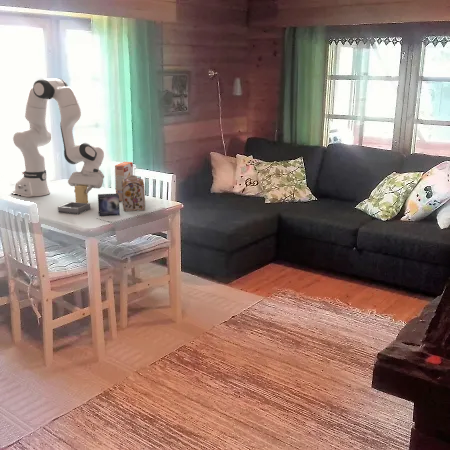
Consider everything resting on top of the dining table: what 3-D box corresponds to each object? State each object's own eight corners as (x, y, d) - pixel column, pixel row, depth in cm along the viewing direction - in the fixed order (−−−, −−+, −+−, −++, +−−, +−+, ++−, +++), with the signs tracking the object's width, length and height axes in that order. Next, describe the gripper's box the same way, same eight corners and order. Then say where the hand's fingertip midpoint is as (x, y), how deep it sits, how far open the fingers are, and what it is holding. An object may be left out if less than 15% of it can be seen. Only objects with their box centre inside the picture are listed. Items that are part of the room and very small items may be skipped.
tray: (58, 212, 286) (57, 206, 285) (71, 207, 297) (70, 201, 296) (77, 214, 282) (77, 208, 282) (90, 209, 293) (90, 203, 292)
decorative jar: (122, 206, 300) (121, 174, 295) (143, 205, 303) (142, 173, 298) (123, 211, 289) (122, 178, 284) (145, 210, 292) (144, 177, 287)
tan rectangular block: (75, 204, 304) (74, 186, 301) (80, 202, 308) (79, 185, 305) (83, 204, 302) (82, 187, 299) (88, 203, 306) (87, 185, 303)
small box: (99, 216, 279) (98, 196, 276) (98, 213, 285) (97, 194, 282) (120, 215, 282) (119, 195, 279) (118, 212, 288) (117, 193, 285)
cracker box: (125, 201, 310) (124, 165, 304) (115, 201, 311) (114, 165, 305) (134, 196, 323) (133, 161, 317) (124, 195, 324) (123, 161, 318)
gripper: (71, 167, 309) (62, 188, 303) (102, 170, 303) (94, 191, 297) (75, 174, 314) (67, 194, 308) (107, 176, 308) (98, 197, 302)
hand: (80, 192), depth 302 cm, fingers closed on tan rectangular block, 5 cm apart
